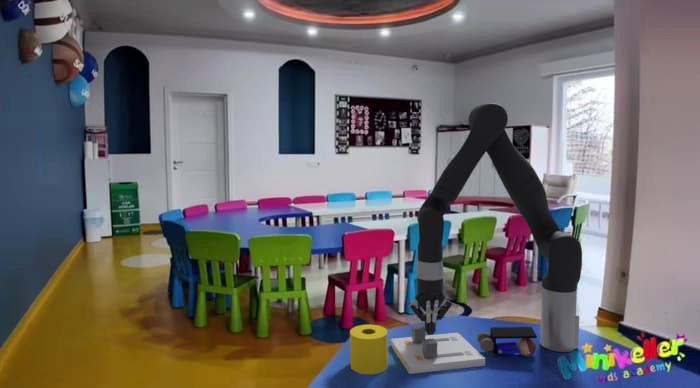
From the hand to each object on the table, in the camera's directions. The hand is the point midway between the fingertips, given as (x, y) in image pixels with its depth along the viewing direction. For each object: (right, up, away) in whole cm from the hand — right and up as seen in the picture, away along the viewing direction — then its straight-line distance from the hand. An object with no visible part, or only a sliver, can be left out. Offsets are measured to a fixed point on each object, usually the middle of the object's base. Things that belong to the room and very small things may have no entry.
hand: (430, 333), depth 138 cm
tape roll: (-18, -6, -10) cm, 21 cm away
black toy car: (+21, -5, -5) cm, 22 cm away
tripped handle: (-3, -2, -1) cm, 4 cm away
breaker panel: (+1, -5, -5) cm, 7 cm away
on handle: (-2, -3, -10) cm, 11 cm away
